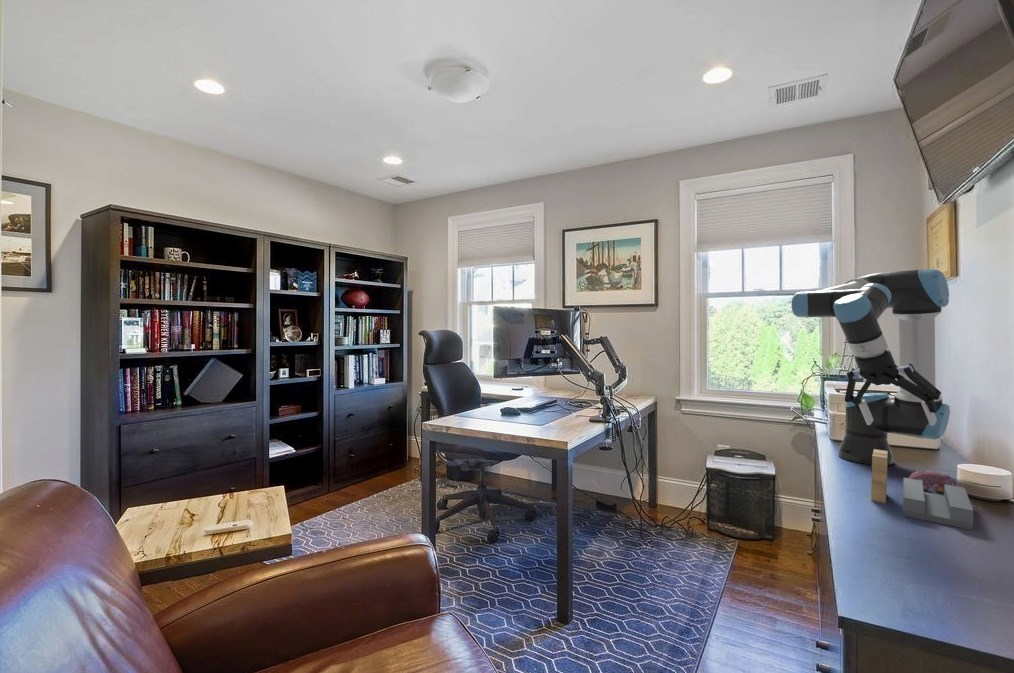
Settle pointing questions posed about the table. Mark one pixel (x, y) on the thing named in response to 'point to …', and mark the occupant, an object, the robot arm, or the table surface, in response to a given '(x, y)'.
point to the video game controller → (933, 479)
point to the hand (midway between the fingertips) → (900, 422)
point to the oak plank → (879, 476)
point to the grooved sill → (937, 505)
